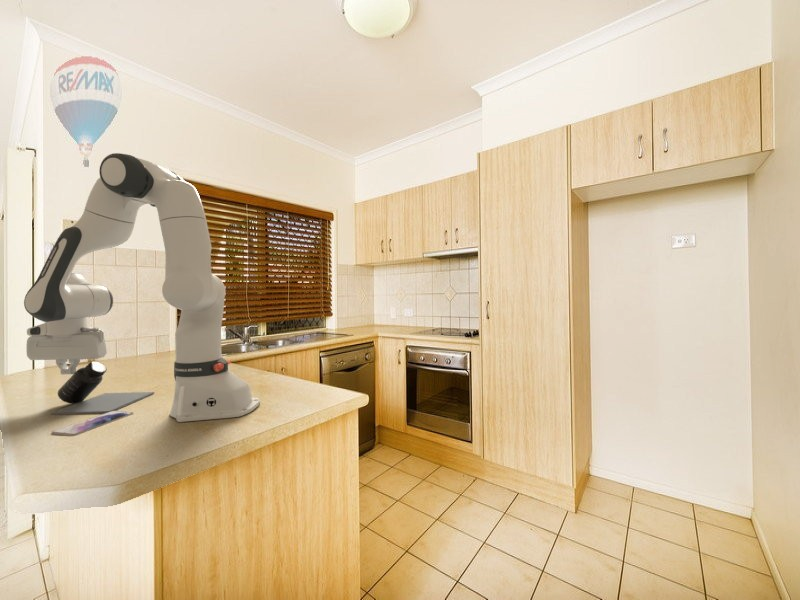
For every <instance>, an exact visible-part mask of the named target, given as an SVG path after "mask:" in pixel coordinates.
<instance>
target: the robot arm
mask: <svg viewBox="0 0 800 600" xmlns="http://www.w3.org/2000/svg"><path fill="white" fill-rule="evenodd" d="M147 204H148V205H150V207H154V208H156V210H157V211H156V212H157V214H158V215H157V217H158V221H159V224H160V225H159V226H160V230H161V235H162V240H163V245H164V252H165V253H164V254H165V266H164V267H165V268H164V269H165V271H164V273H165V277H164V278H165V279H164V282H163V283H162V289H161V290H162V291H161V292H162V297H163V299H164V300H165V302H166V303H168V304H169V305H170V306H171V307H173V308H175V309H177V310H180V316H179V321H178V325H177V328H176V331H175V339H174V341H175V342H174V343H175V361H174V363H173V377H174V381H175V383H174V384H175V385H174V386H175V387H174V396H173V401H172V405H171V409H170V412H169V416H170V417H172V418H175V419H176V422H178V423H184V422H193V421H194V422H196V421H205V420H206V421H207V420H217V419H218V420H219V419H228V418H230V419H231V418H239V417H242V416H244V415H245V416H246V415H247V414H249V413H251V412H252V411H254V410H255V409H257V407H259V406H260V398H258V397H254V396H252V391H251V387H250V385H249V383H248V382H247V381H246V380H244V379H242V378H241V377H239V376H237V375H236V374H235V373H233V372H232V371H230V370H229V365H231V359H228V360H227V359H225V358H223V357H222V324H223V316H224V309H225V297H226V291H227V290H226V286H225V284H224V283H223V281H222V280H221V278H219V277H218V276H217V275H215V274H213V273H212V258H211V255H212V254H211V252H212V247H213V246H212V242H211V237H210V231H209V226H208V222H207V217H206V213H205V209H204V206H203V203H202V200H201V198H200V195H199V193H198V191H197V189H196V187H195V186H194V185H192V184H191V183H189V182H187V181H185V180H184V179H183V178H182V177H181V176H179V175H178V174H177V173H175V172H174V171H171V170H167V169H166V168H165V167H162V166H160V165H158V164H157V163H154V162H151V161H149V160H146V159H142V158H138V157H136V156H133V155H131V154H127V153H120V152H119V153H118V152H116V153H110V154H108V155H106V156H105V157H104V158H103V160H102V161H101V163H100V165H99V178H97V180H96V181H95V183H94V184H93V187H92V188H91V190H90V193H89V194H88V198H87V200H86V203H85V207H84V209H83V210H84V211H83V212H82V215H81V216H80V217H79V219H78V220H77V222H76V223H74V224H72V226H70V227H67V228H65V229H64V230H63V231H62V232H61V233H60V234H59V236H58V237H57V239H56V242H55V243H54V245H53V247H52V249H51V250H50V252H49V254H48V257H47V259H46V261H45V263H44V265H43V266H42V269H41V271H40V273H39V275H38V276H37V278H36V280H35V282H34V283H33V285H32V286H31V287H30V288H29V289H28V291H27V292H26V294H25V297H24V300H23V304H24V305H23V306H24V309H25V311H26V312H27V313H28V314H29V315H30V316H32V317H33V318H35V319H37V320H38V321H41V322H43V323H41V324H38V325H35V326H32V327H28V328H27V329H26V335H27V336H28V338H27V339H26V356H27V358H28V359H29V360H30V361H51V360H52V361H53V360H55V364H56V366H57V367H58V368H59V370H60V375H73V374H74V373H75V372H76V371H77V367H78V366H79V365H80V362H81V360H98V359H102V358H104V357H106V355H107V346H106V345H107V344H106V339H105V336H104V331H103V330H102V329H100V328H99V327H88V318H95V317H102V316H104V315H107V314H108V313H109V312H110V311H111V310H112V308H113V306H114V296H113V294H112V292H111V291H110V289H109V288H107V287H106V286H103V285H99V284H96V283H94V282H90V281H89V280H87V279H86V278H85V277H84V276H83V275H81V274H79V273H73V270H74V268H75V267H76V264H77V263H78V261H79V260H80V259H81V258H82V257H85V256H86V255H89V254H90V253H93V252H97V251H101V250H105V249H110V248H111V249H112V248H115V247H116V248H117V247H119V246H121V245H122V244H124V243H126V242H127V241H128V240H129V238H130V237H131V236H132V234H133V230H134V227H135V224H136V221H137V220H136V219H137V216H138V211H139V210H140V208H141V207H142V206H145V205H147ZM67 362H68V364H69V366H68V364H67Z"/></svg>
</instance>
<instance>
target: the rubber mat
mask: <svg viewBox="0 0 800 600" xmlns="http://www.w3.org/2000/svg"><path fill="white" fill-rule="evenodd" d="M152 395H155V391H148V392H147V391H144V392H143V391H141V392H137V391H135V392H133V391H132V392H104V393H102V394H99V395H96V396H93V397H91V398H90V397H89V398H86V399H84V400H83V401H82V402H79V403H76V404H71V405H68V406H65V407H61V408H60V409H57V410H53V411H51V413H50V415H55V416H56V415H83V414H84V415H85V414H87V415H89V414H92V415H93V414H105V413H108V412H111V411H119V410H120V409H123V408H125V407H127V406H129V405H132V404H134V403H137V402H138V401H141V400H144V399H145V398H148V397H151V396H152Z"/></svg>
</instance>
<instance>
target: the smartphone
mask: <svg viewBox="0 0 800 600" xmlns="http://www.w3.org/2000/svg"><path fill="white" fill-rule="evenodd" d="M131 415H134V412H132V411H122V410H121V411H120V410H116V411H111V412H108V413H101V414H100V415H97V416H93V417H91V418H88V419H85V420H82V421H79V422H76V423H73V424H70V425H67V426H65V427H61V428H59V429H56V430H53V431H51V435H52V434H54V435H55V436H65V437H75V436H79V435H81V434H84V433H86V432H89V431H92V430H94V429H97V428H100V427H103V426H105V425H107V424H111V423H112V422H116V421H118V420H121V419H123V418H127V417H128V416H131Z"/></svg>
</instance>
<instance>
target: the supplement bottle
mask: <svg viewBox="0 0 800 600" xmlns="http://www.w3.org/2000/svg"><path fill="white" fill-rule="evenodd" d="M106 372H107V367H106V366H105V364H104V363H101V362H99V361H91V362H89V363H88V364H87V365H85V367H81V368H79V369H76V372H75V373H74V374H71V375H70V377H69V378H68V380H66V382H64V384H63V385H62V386H61V387H60V388H59V389H58V390H57V397H58V398H59V399H60V401H63V402H65V403H67V404H71V405H73V404H76V403H79V402H82V401H85V400H86V399H87V397H88V396H89V395H91V393H92V392H94V390H95V389H97V387H98V386H99V385H101V383H102V381H103V379H104V378H103V375H104V374H105V373H106Z"/></svg>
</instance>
